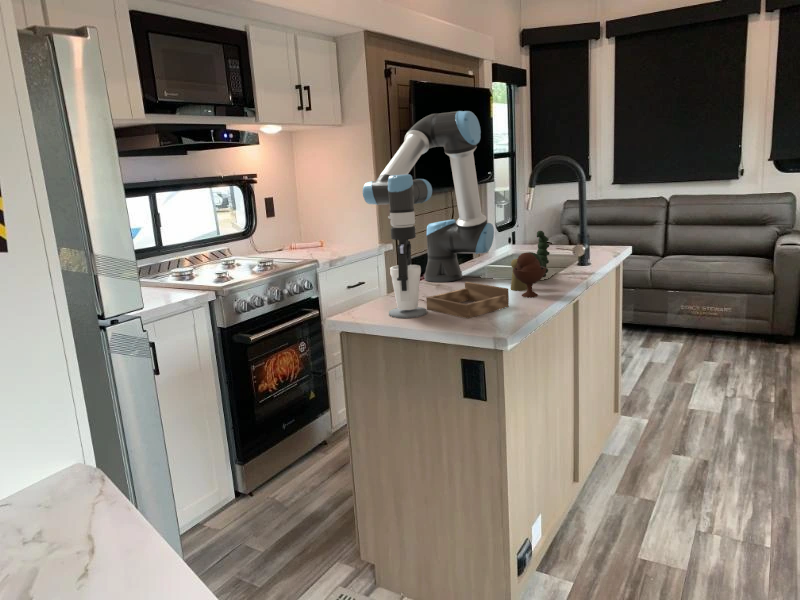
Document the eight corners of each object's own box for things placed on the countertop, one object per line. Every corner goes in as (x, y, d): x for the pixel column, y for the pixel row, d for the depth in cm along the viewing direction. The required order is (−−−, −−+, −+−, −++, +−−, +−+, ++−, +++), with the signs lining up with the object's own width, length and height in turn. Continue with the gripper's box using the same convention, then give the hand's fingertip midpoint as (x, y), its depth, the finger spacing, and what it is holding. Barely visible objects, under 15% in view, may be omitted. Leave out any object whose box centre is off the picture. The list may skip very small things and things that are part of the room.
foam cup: (428, 307, 194) (426, 266, 191) (404, 312, 189) (401, 271, 186) (410, 302, 202) (408, 263, 199) (387, 307, 197) (384, 267, 194)
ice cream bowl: (547, 299, 204) (546, 254, 201) (512, 299, 206) (511, 255, 203) (546, 292, 214) (545, 249, 211) (513, 292, 216) (512, 250, 213)
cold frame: (467, 299, 211) (467, 281, 209) (508, 306, 196) (508, 288, 195) (426, 309, 200) (426, 291, 198) (467, 318, 185) (466, 298, 184)
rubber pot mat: (410, 307, 204) (410, 304, 204) (434, 312, 195) (434, 310, 195) (381, 314, 197) (381, 311, 197) (404, 320, 188) (404, 317, 188)
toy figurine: (532, 277, 251) (510, 283, 229) (533, 230, 248) (510, 232, 227) (555, 278, 246) (534, 284, 225) (556, 230, 243) (535, 232, 222)
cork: (507, 289, 223) (506, 258, 221) (521, 286, 225) (520, 256, 223) (516, 291, 218) (516, 260, 215) (531, 289, 220) (530, 258, 217)
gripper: (395, 222, 201) (399, 290, 206) (385, 230, 180) (390, 305, 185) (418, 221, 200) (421, 289, 205) (411, 229, 179) (415, 305, 184)
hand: (407, 297), depth 195 cm, fingers closed on foam cup, 9 cm apart
